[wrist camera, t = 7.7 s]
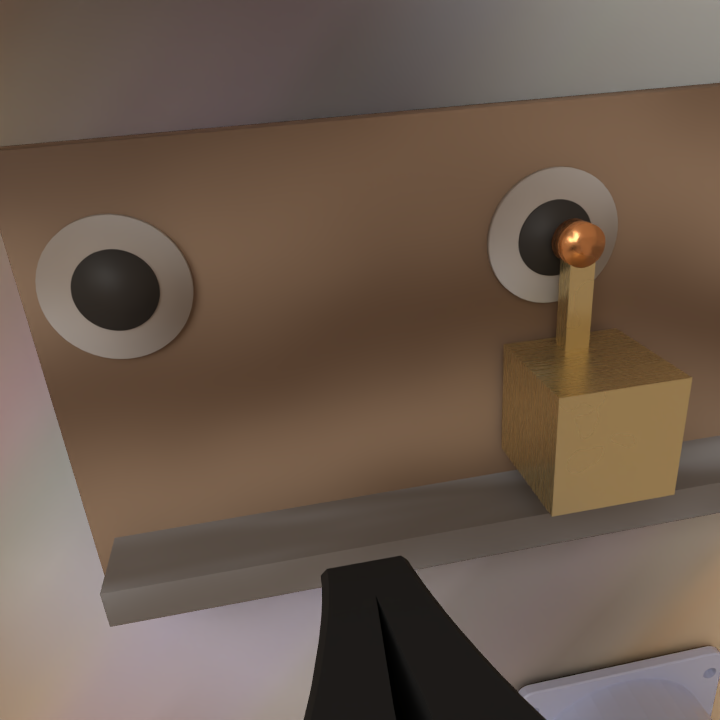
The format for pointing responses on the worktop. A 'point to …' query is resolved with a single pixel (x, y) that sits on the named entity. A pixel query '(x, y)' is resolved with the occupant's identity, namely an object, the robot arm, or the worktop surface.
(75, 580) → the worktop surface
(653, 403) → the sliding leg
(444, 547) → the hole plate
